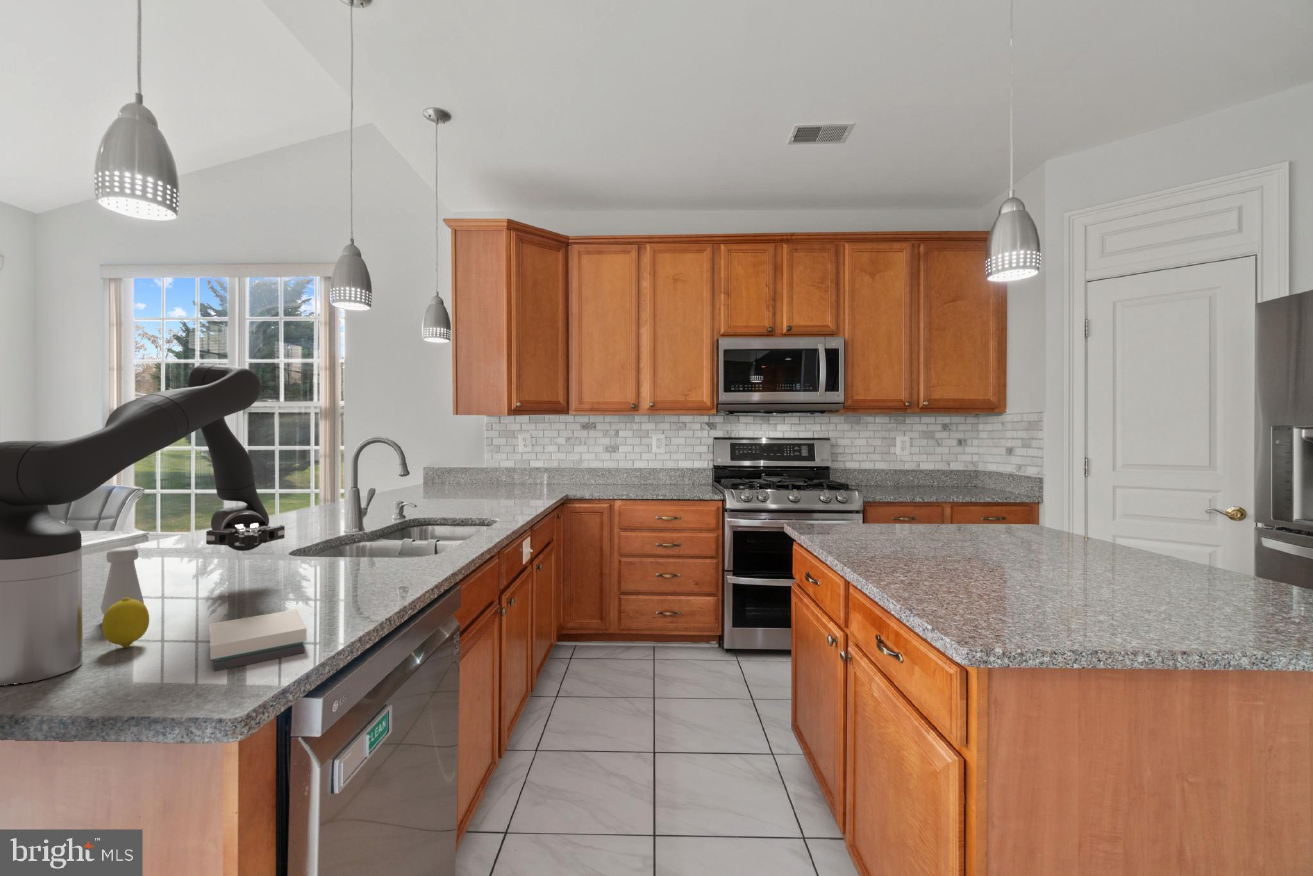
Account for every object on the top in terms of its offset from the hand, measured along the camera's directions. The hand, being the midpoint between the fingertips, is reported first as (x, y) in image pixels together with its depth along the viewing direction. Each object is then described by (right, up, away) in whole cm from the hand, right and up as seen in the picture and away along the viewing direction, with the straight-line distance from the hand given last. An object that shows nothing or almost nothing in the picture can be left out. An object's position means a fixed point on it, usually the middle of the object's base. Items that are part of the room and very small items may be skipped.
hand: (249, 540), depth 103 cm
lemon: (-11, -15, -12) cm, 22 cm away
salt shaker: (-25, -15, +2) cm, 29 cm away
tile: (+6, -13, -7) cm, 16 cm away
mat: (+11, -15, -13) cm, 23 cm away
